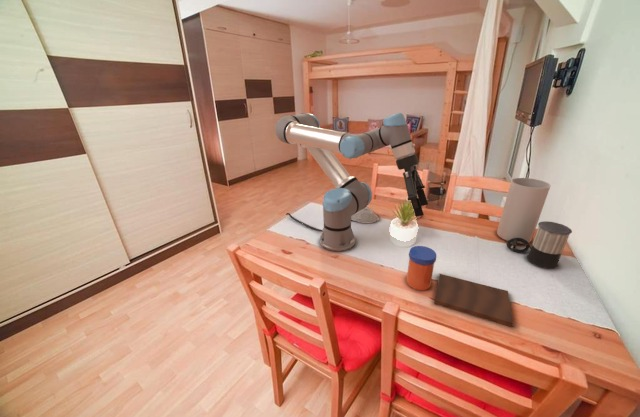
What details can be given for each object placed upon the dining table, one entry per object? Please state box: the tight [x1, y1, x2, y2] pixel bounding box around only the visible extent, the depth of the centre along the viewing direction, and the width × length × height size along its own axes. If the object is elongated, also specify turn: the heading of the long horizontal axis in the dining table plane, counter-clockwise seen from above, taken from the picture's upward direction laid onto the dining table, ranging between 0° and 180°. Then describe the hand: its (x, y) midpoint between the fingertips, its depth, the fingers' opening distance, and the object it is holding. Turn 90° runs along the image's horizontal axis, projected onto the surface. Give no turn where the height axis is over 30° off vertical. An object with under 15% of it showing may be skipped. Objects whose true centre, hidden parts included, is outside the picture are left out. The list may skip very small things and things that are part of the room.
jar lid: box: [408, 245, 437, 265], centre depth 85 cm, size 8×8×2 cm
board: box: [434, 273, 514, 327], centre depth 82 cm, size 20×14×2 cm
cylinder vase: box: [496, 177, 551, 245], centre depth 109 cm, size 12×12×25 cm
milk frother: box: [505, 220, 573, 270], centre depth 98 cm, size 14×16×15 cm
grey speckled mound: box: [351, 205, 380, 224], centre depth 138 cm, size 16×25×7 cm, turn 47°
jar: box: [406, 257, 435, 291], centre depth 88 cm, size 8×8×12 cm
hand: (422, 210), depth 99 cm, fingers open, 13 cm apart
